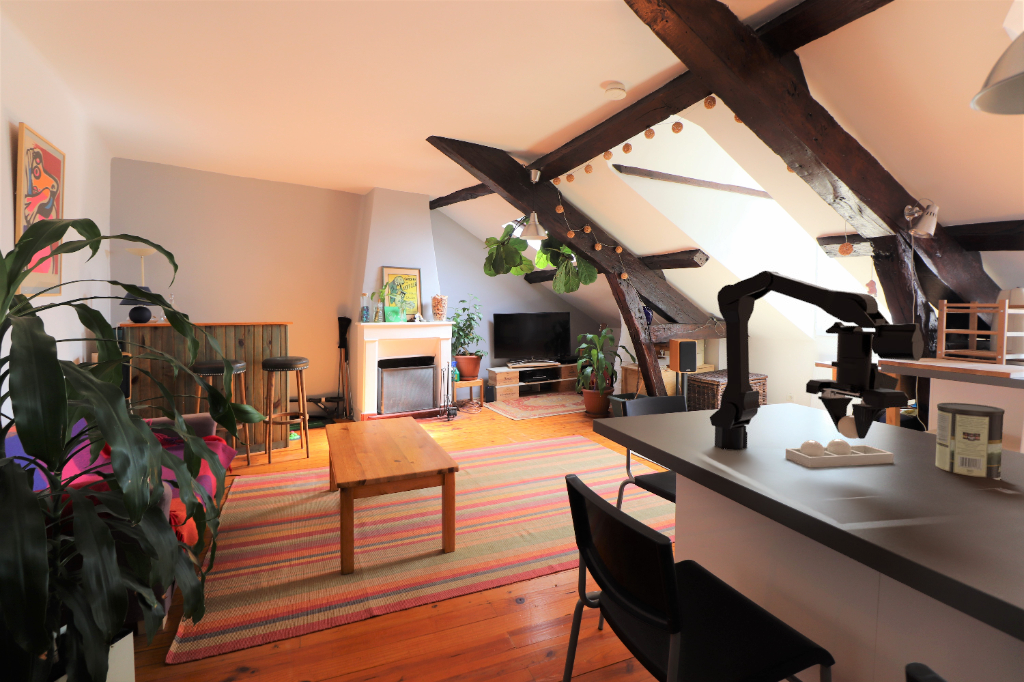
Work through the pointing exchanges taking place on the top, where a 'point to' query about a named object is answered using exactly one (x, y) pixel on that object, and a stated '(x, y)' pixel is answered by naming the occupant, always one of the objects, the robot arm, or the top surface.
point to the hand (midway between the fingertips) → (851, 435)
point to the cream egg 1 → (812, 449)
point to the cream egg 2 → (839, 447)
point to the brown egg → (848, 427)
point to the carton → (842, 457)
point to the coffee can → (969, 439)
